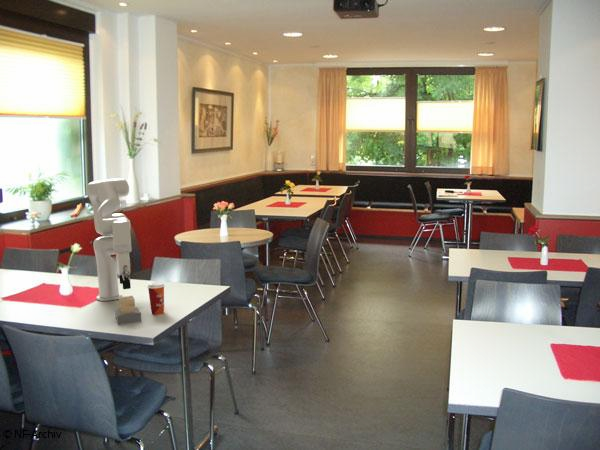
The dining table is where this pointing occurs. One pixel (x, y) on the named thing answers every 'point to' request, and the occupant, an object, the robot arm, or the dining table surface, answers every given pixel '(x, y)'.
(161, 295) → the paper cup
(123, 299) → the oak cube
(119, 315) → the slate pedestal
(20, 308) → the dining table surface
